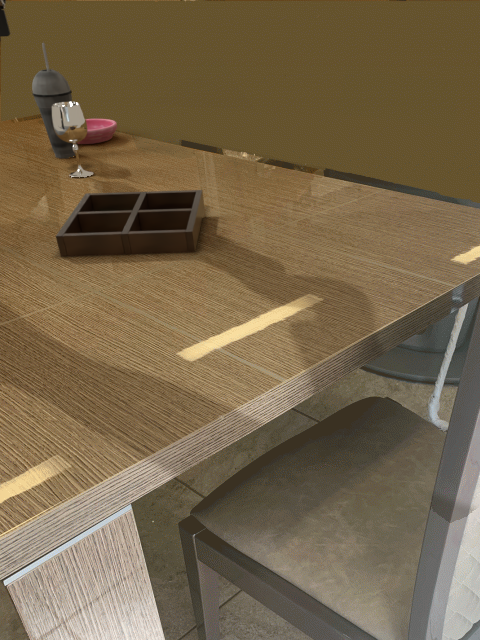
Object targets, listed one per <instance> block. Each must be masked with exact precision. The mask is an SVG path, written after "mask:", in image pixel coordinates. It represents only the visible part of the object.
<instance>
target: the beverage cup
mask: <svg viewBox="0 0 480 640" xmlns="http://www.w3.org/2000/svg"><path fill="white" fill-rule="evenodd" d="M41 47H42V52H43V58H44V63H45V67H46V69H41V70H39V71H38V72H37V73H36V74H35V75H34V77H33V79H32V83H31V90H32V96H33V98H34V101H35V104H36V107H38V109H39V113H40V115H41V119H42V122H43V125H44V127H45V131H46V134H47V136H48V140H49V143H50V146H51V149H52V151H53V154H54V156H55V158H57V159H70V158H69V157H72V158H74V157H73V156H75V153H74V151H73V144H72V143H68V142H65V141H63V140H61V139H60V138H59V137H58V136H57V134H56V133H55V130H54V127H53V121H52V105H53V104H55V103H60V102H73V96H72V89H71V86H70V84H69V82H68V81H67V78H65V76H64V75H63V74H62V73H60V72H59V71H57V70H54V69H51V68H50V64H49V60H48V55H47V54H48V53H47V49H46V43H45V42H42V43H41ZM76 145H77V146H78V144H77V143H76Z"/></svg>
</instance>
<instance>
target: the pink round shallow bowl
mask: <svg viewBox="0 0 480 640" xmlns="http://www.w3.org/2000/svg"><path fill="white" fill-rule="evenodd" d="M85 119H86V122H87V135H86V137H85V138H84V139H83V140H81V141H80V142H77V145H93V144H99V143H104V142H108V141H110V140H112V138H113V136H114V134H115V133H116V131H117V129H118V124H117V121H116V120H113V119H108V118H85Z"/></svg>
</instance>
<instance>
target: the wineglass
mask: <svg viewBox="0 0 480 640" xmlns="http://www.w3.org/2000/svg"><path fill="white" fill-rule="evenodd" d="M86 119H87V118H86V116H85V113H84V111H83V108H82V107H81V104H80V103H79V102H77V101H72V102H60V103H55V104H53V105H52V121H53V127H54V130H55V133H56V134H57V136H58V137H59V138H60V139H61V140H63V141H65V142H68V143H72V144H73V151H74V153H75V156H76V157H75V158H76V162H77V169H76V171H73V172H70V173H69V174H68V177H70V176H71V177H70V178H72V177H79V178H78V179H81V178H80V177H84V178H88V177H87V176H89V177H92V176H93V175H94V172H93V171H92V170H86V169H84V168H83V167H82V165H81V161H80V153H79V151H80V149H79V146H78V144H77V145H76V143H77V142H80V141H81V140H83V139H84V138H85V137H86V135H87V122H86ZM91 175H92V176H91Z"/></svg>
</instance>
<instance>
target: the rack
mask: <svg viewBox="0 0 480 640" xmlns="http://www.w3.org/2000/svg"><path fill="white" fill-rule="evenodd" d="M203 218H206V209H205V201H204V192H203V189H189V190H187V189H185V190H154V191H153V190H151V191H125V192H124V191H122V192H121V191H120V192H89V193H84V195H83V196H82V198H80V200H79V202H78V203H77V204H76V207H75V208H74V209H73V210H72V212H71V213H70V215H69V217H68V218H67V219H66V221H65V222H64V224H63V225H62V226H61V228H60V229H59V231H58V232H57V234H56V235H55V239H56V242H57V247H58V250H59V254H60V257H64V258H65V257H86V256H87V257H88V256H89V257H92V256H115V255H116V256H120V255H121V256H122V255H147V254H148V255H150V254H151V255H152V254H172V253H173V254H174V253H175V254H176V253H178V254H179V253H196V249H197V245H198V240H199V236H200V232H201V231H200V230H201V226H202V221H203Z"/></svg>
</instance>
